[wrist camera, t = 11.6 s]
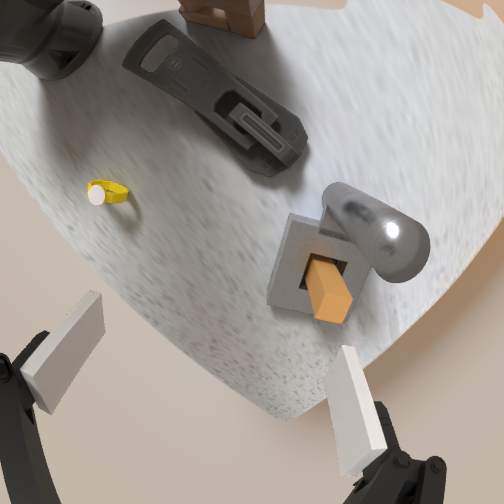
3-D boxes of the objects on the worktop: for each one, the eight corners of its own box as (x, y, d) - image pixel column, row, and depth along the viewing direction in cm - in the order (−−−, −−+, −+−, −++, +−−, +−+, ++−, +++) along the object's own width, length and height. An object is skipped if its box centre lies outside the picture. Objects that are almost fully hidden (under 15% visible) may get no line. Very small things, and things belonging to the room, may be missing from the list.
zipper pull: (161, 12, 23) (326, 135, 28) (177, 30, 29) (316, 137, 34) (113, 66, 26) (269, 193, 31) (136, 76, 32) (269, 185, 37)
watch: (135, 184, 38) (118, 192, 32) (131, 202, 39) (114, 212, 33) (101, 173, 37) (81, 179, 31) (97, 190, 38) (77, 199, 32)
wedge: (310, 251, 40) (325, 293, 28) (331, 257, 40) (353, 299, 28) (303, 272, 41) (315, 318, 29) (324, 277, 41) (342, 323, 30)
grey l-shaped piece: (301, 170, 36) (337, 194, 17) (382, 196, 36) (469, 242, 17) (266, 290, 42) (264, 393, 23) (341, 306, 42) (378, 405, 24)
